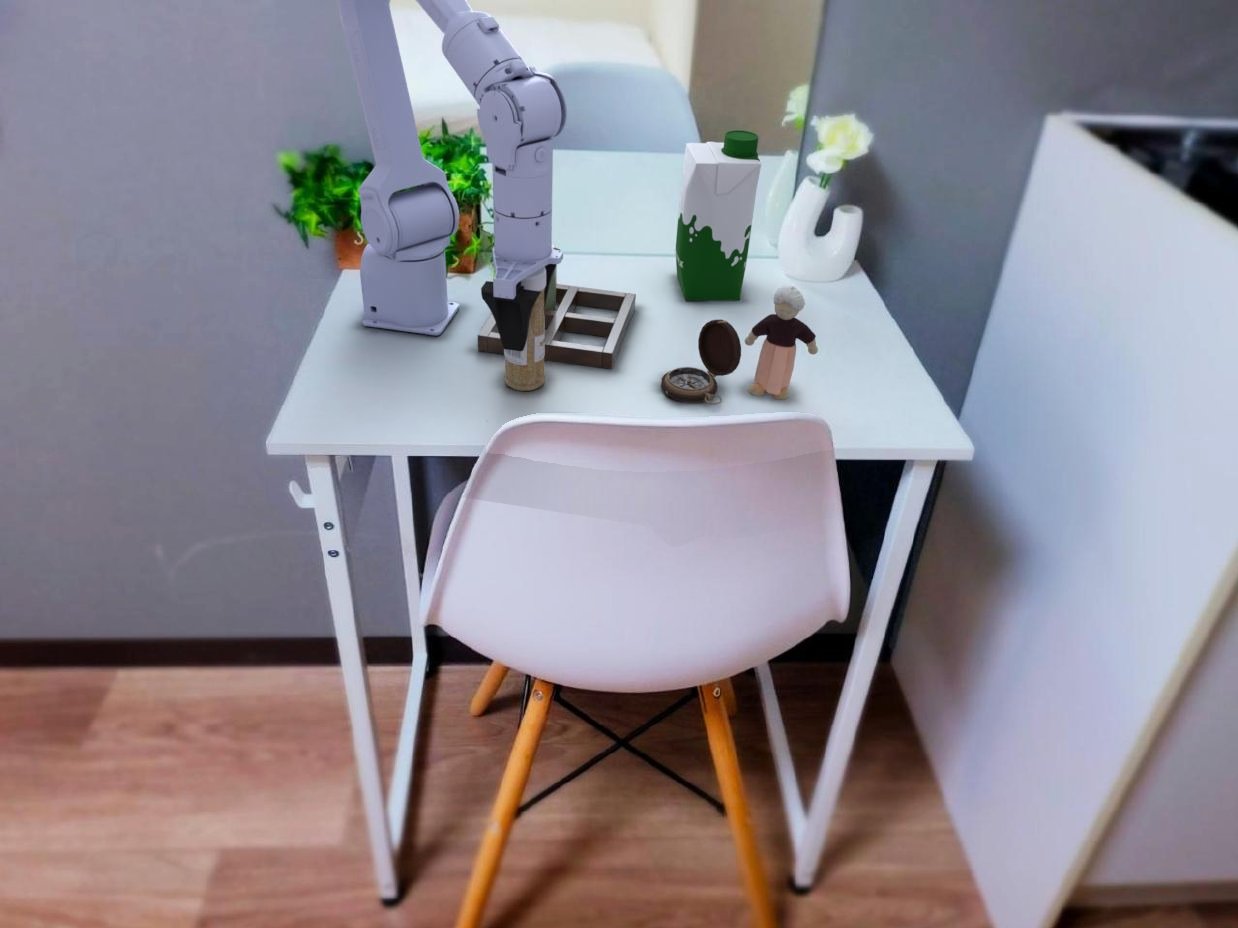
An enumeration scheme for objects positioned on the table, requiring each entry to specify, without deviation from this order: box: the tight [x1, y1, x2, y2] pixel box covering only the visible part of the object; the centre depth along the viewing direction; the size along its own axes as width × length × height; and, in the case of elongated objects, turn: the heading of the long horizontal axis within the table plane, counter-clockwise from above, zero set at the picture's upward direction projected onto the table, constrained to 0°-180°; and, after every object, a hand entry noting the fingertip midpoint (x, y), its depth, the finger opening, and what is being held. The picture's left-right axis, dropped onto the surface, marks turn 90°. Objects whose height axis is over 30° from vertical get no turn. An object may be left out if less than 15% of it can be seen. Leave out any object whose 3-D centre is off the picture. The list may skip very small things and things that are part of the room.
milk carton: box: [675, 130, 762, 301], centre depth 123 cm, size 9×9×20 cm
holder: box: [477, 283, 637, 370], centre depth 117 cm, size 16×16×2 cm
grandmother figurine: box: [744, 285, 819, 400], centre depth 104 cm, size 8×4×13 cm, turn 87°
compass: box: [660, 318, 742, 405], centre depth 105 cm, size 8×8×7 cm
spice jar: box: [544, 243, 558, 311], centre depth 119 cm, size 4×4×8 cm
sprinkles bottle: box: [503, 267, 546, 392], centre depth 103 cm, size 5×5×14 cm
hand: (523, 331), depth 104 cm, fingers open, 7 cm apart
